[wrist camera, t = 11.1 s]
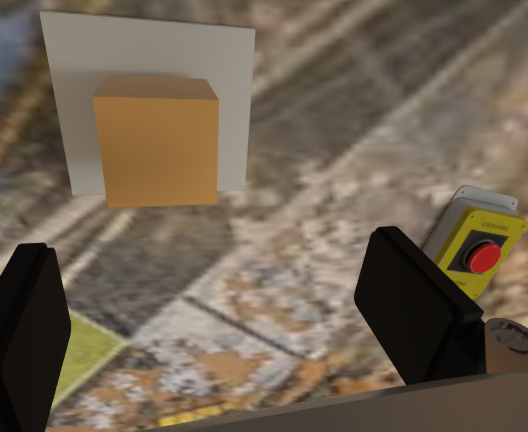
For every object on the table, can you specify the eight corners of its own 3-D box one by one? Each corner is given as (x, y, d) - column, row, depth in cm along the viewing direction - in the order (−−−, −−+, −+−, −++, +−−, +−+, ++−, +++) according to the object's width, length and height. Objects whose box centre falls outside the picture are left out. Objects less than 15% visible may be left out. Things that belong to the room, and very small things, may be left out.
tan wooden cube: (106, 74, 23) (92, 96, 18) (205, 78, 24) (219, 100, 19) (117, 166, 26) (108, 208, 20) (205, 165, 27) (216, 203, 22)
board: (47, 10, 23) (-4, 15, 16) (249, 27, 27) (285, 38, 19) (77, 184, 29) (50, 248, 22) (240, 180, 33) (265, 235, 25)
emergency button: (551, 214, 39) (475, 321, 45) (517, 196, 43) (451, 296, 49) (488, 200, 36) (415, 317, 42) (457, 181, 39) (394, 291, 46)
